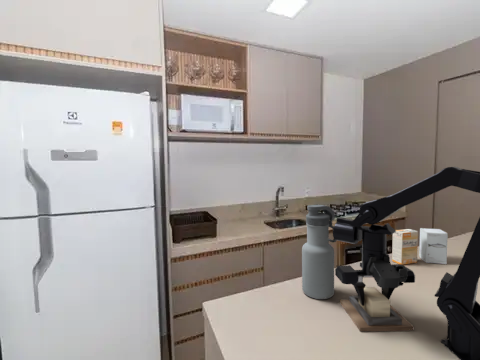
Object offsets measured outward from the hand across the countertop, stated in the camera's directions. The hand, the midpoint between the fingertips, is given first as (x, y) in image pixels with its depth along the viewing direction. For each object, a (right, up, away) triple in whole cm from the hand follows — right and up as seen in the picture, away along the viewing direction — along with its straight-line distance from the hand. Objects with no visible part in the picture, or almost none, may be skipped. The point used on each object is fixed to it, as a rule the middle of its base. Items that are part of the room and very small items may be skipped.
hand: (373, 304), depth 70 cm
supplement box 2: (+43, 0, +37) cm, 57 cm away
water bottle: (-11, -3, +13) cm, 17 cm away
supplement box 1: (+31, 0, +36) cm, 48 cm away
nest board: (0, -3, 0) cm, 3 cm away
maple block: (0, -2, 0) cm, 2 cm away
